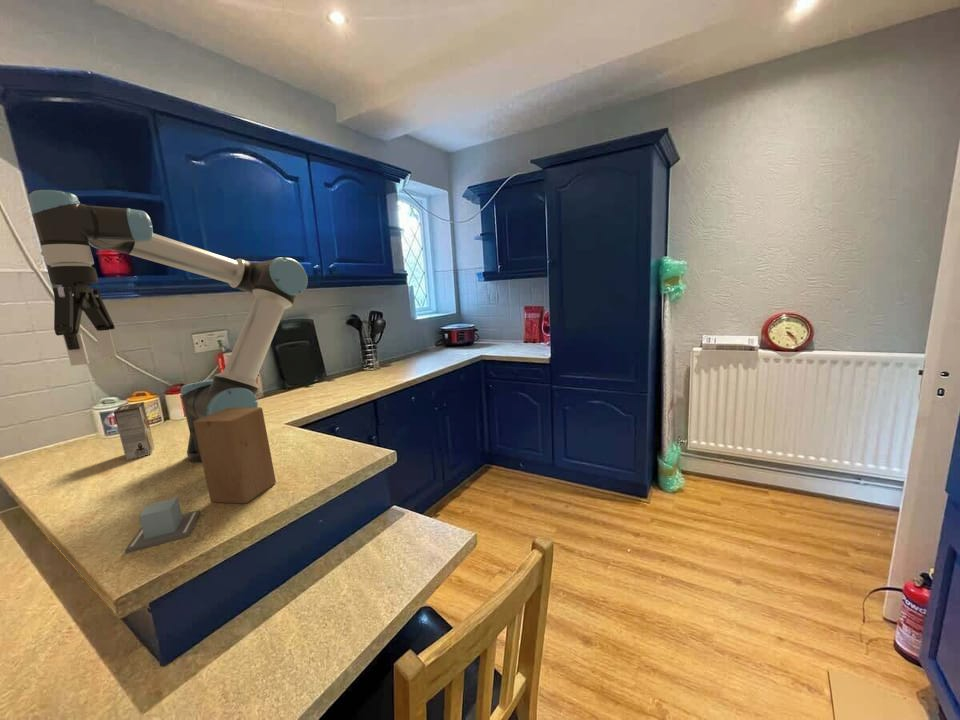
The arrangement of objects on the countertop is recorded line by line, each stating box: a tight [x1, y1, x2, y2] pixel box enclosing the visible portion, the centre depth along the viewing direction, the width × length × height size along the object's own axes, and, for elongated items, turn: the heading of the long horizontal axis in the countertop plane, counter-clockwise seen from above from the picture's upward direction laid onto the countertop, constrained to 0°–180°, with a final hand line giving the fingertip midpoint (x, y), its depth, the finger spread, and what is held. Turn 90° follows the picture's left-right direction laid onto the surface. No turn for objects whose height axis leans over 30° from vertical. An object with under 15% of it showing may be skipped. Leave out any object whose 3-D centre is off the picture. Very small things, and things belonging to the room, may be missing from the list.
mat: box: [124, 509, 202, 554], centre depth 81 cm, size 10×10×1 cm
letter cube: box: [138, 497, 183, 539], centre depth 80 cm, size 5×5×5 cm
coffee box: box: [113, 401, 155, 461], centre depth 127 cm, size 9×6×16 cm
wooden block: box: [193, 406, 277, 504], centre depth 93 cm, size 10×10×20 cm
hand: (95, 360), depth 91 cm, fingers open, 13 cm apart
